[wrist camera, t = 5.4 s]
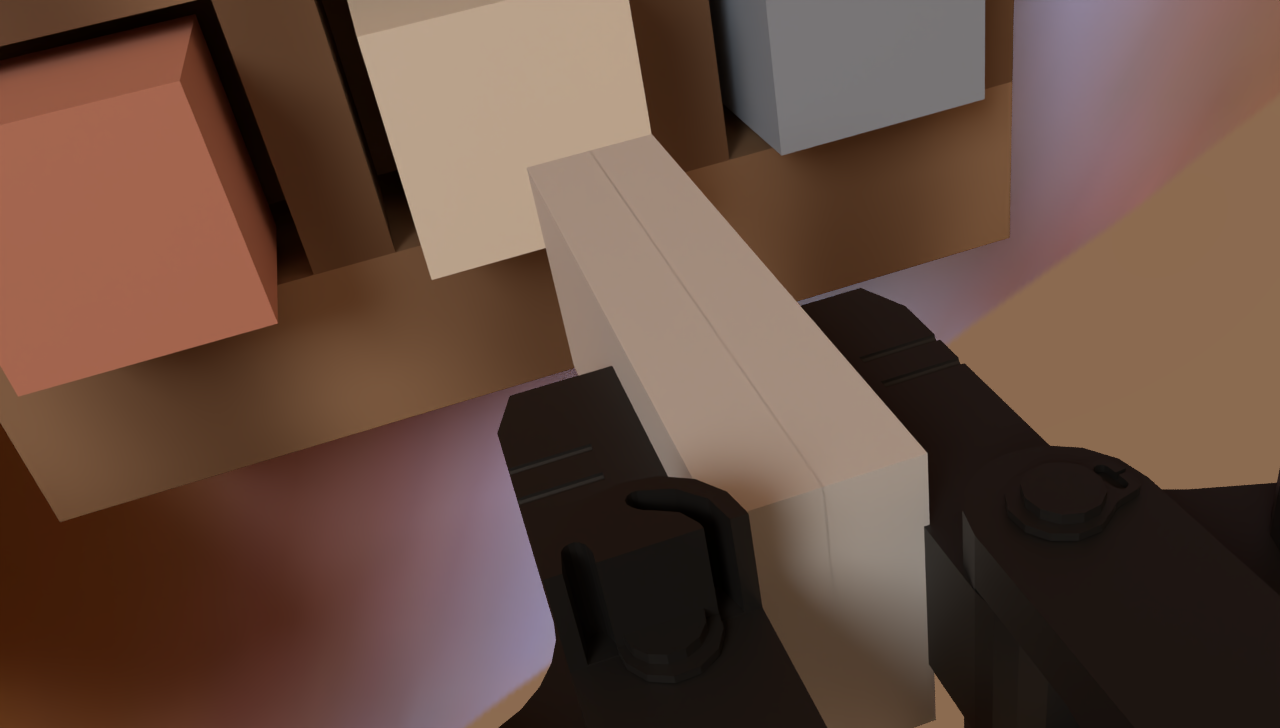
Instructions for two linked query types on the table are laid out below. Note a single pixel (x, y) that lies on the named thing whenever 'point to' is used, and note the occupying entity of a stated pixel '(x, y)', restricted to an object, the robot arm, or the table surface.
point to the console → (476, 298)
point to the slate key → (845, 64)
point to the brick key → (125, 208)
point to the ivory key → (495, 108)
